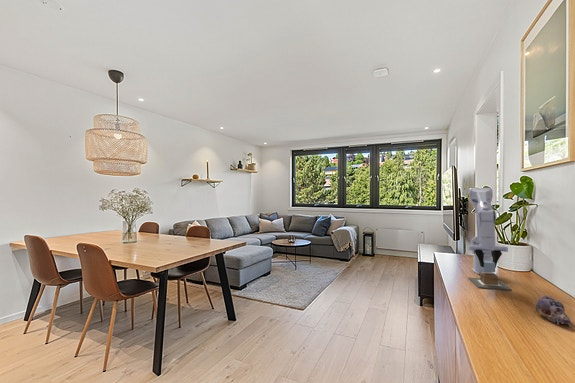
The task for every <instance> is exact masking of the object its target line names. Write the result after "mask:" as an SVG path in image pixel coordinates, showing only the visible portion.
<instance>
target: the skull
mask: <svg viewBox="0 0 575 383" xmlns="http://www.w3.org/2000/svg"><path fill="white" fill-rule="evenodd" d="M535 310H536V312H539V313H540V314H541V315H542V316H543V317H545V318H546V319H547V320H548V321H550V322H553V323H554V324H556V323H557V326H559V325H560V323H561V324H562V325H564V324H565V325H567V326H569V328H571V326H572V325H571V324H572V323H571V320H570V316H569V315H568V314H566V312H565V306H564V304H563V303H562V302H561V301H559V300H557V299H554V298H552V297H551V296H547V295H544V296H542V297H539V298H538V299H537V300H536V303H535Z"/></svg>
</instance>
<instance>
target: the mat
mask: <svg viewBox="0 0 575 383" xmlns="http://www.w3.org/2000/svg"><path fill="white" fill-rule="evenodd" d="M468 280H470V282H471V283H472V284H473V285H474V286H475V287H476V288H477V289H481V290H482V289H483V290H485V289H486V290H494V291H495V290H498V291H509V292H513V289H512V288H510V287H509V286H508V285H507V284H505V283H504V282H502V281H501V280H500V279H498V285H489V284H484V283H483V282H481V279H480V277H468Z"/></svg>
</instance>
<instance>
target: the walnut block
mask: <svg viewBox="0 0 575 383" xmlns="http://www.w3.org/2000/svg"><path fill="white" fill-rule="evenodd" d="M495 274H496V273H495V272H493V273H487V272H480V274H479V275H480V277H479V278H480V279H481V282H483V283H484V284H489V285H498V280H499V279H498V278H499V276H498V275H497V274H496V275H495Z"/></svg>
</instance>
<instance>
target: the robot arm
mask: <svg viewBox="0 0 575 383" xmlns="http://www.w3.org/2000/svg"><path fill="white" fill-rule="evenodd" d="M493 194H494V193H493V188H491V187H476V188H475V187H473V188H471V187H470V188H469V189H468V198H469V200H468V201H469V204H470V205H472V206H474V209H475V224H476V236H474V237H473V238H472V239H471V240H470V245H467V250H468V251H471V254H472V255H473V256H472V257H473V258H472V261H473V263H472V264H473V265H472V266H473V267H472V268H470V269H471V270H472V271H473V272H474V273H475V274H476V275H480V272H485V271H483V270H482V267H484V261H492V262H494V263H495V269H496V268H497V264H498V262H499V259H500V258H501V257H502V255H503V253H502V252H505V253H509V248H508V246H499V245H496V227H495V225H496V224H495V223H496V221H497V215H496V214H497V213H496V210H495V209H493V206H492V202H493ZM487 273H494V272H487ZM494 274H495V275H497V274H496V273H494Z"/></svg>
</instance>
